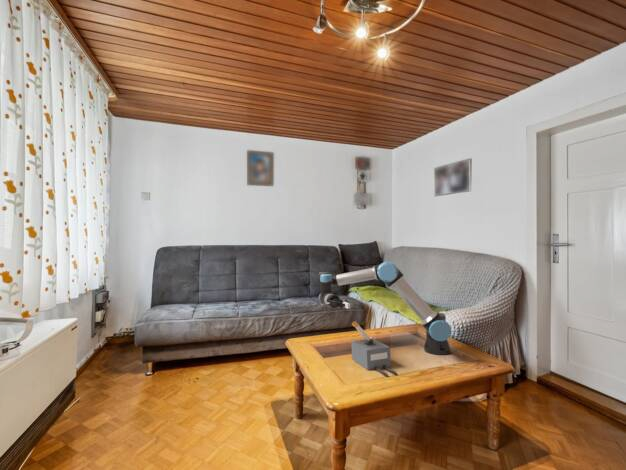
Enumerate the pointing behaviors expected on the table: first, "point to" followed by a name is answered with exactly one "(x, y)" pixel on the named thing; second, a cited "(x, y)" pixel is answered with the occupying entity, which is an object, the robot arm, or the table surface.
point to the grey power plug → (372, 355)
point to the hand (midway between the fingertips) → (348, 306)
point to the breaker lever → (362, 332)
